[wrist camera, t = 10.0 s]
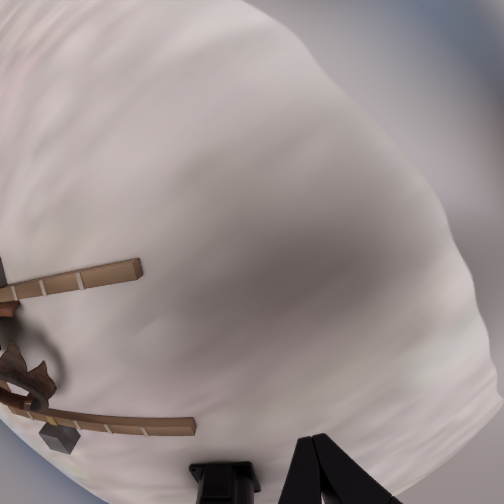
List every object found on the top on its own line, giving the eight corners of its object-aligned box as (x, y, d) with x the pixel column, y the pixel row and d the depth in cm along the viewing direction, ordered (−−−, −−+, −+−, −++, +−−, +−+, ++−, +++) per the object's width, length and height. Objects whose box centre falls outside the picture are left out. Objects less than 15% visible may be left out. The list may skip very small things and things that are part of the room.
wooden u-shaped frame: (204, 444, 22) (201, 469, 19) (27, 423, 22) (16, 437, 19) (129, 218, 18) (108, 223, 14) (-42, 271, 18) (-60, 279, 15)
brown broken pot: (38, 285, 19) (17, 367, 13) (78, 349, 25) (75, 419, 19) (-41, 299, 16) (-64, 364, 10) (1, 355, 22) (-8, 414, 16)
